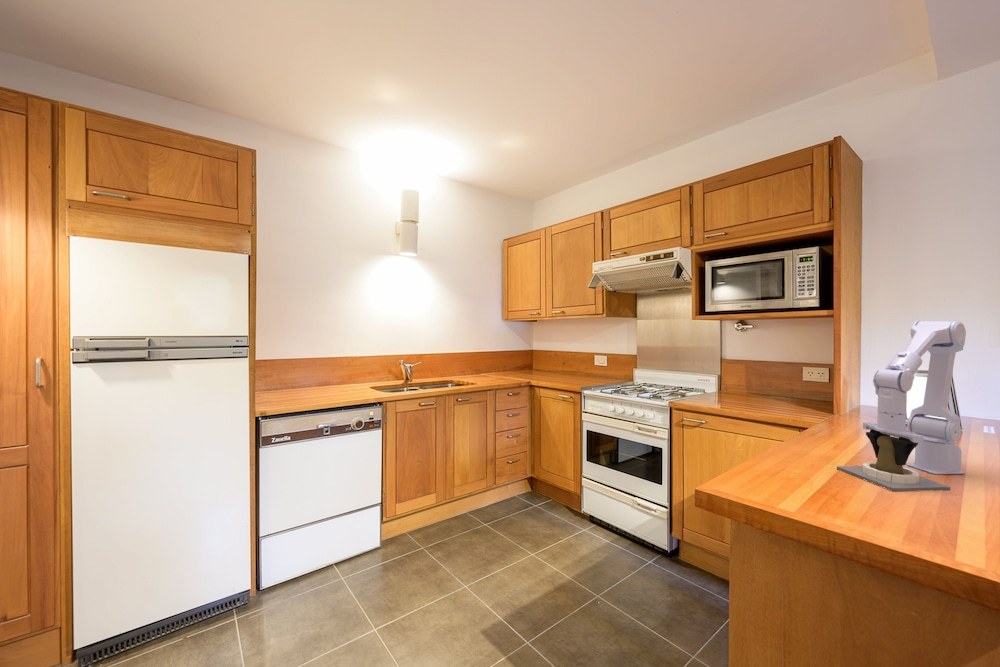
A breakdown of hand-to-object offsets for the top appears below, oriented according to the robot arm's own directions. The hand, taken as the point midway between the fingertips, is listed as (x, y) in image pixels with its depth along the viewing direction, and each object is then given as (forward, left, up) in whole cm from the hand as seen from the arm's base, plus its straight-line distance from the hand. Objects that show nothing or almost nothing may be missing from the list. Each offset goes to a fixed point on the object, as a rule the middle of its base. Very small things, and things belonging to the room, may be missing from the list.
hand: (890, 461), depth 112 cm
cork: (0, 0, -4) cm, 4 cm away
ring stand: (0, 0, -5) cm, 5 cm away
